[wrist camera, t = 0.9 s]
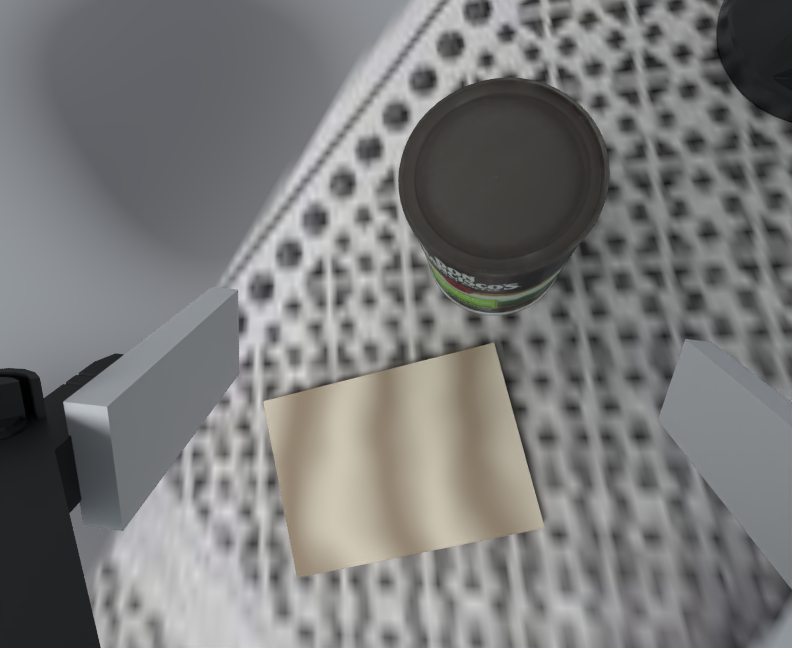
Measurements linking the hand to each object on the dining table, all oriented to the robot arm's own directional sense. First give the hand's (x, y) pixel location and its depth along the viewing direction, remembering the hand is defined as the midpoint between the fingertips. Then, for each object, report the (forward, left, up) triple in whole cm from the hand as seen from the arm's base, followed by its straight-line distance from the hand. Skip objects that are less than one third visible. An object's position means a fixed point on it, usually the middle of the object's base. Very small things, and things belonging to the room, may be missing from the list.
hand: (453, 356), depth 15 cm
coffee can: (-4, -9, -24) cm, 26 cm away
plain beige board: (+7, +5, -23) cm, 25 cm away
